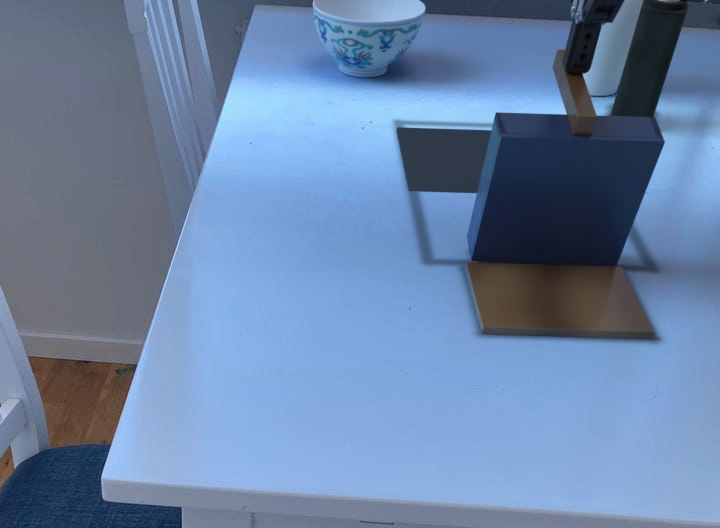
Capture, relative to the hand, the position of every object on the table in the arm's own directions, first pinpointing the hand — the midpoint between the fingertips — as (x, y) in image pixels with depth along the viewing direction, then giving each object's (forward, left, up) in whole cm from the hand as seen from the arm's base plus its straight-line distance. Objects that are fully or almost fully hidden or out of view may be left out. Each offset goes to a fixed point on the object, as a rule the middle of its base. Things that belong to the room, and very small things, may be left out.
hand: (574, 69), depth 83 cm
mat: (0, -13, -16) cm, 21 cm away
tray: (0, +7, -8) cm, 11 cm away
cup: (-17, -48, -17) cm, 53 cm away
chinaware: (+14, -53, -17) cm, 57 cm away
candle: (-19, -36, -17) cm, 44 cm away
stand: (0, +12, -16) cm, 20 cm away
